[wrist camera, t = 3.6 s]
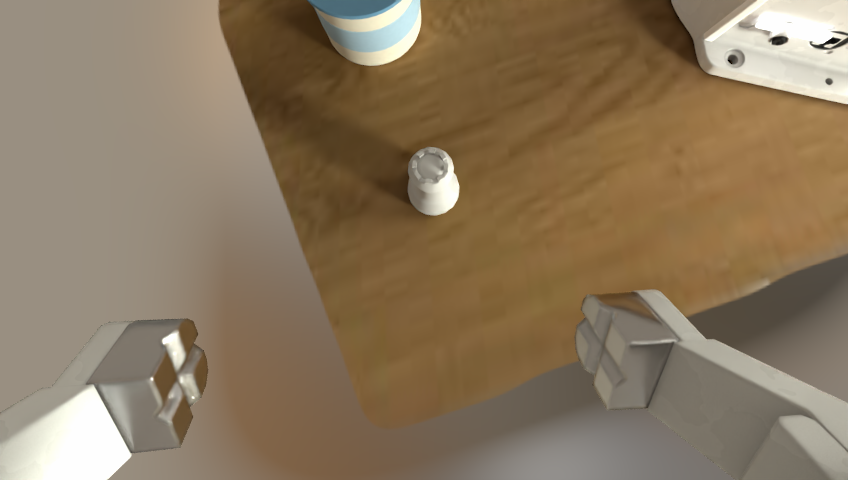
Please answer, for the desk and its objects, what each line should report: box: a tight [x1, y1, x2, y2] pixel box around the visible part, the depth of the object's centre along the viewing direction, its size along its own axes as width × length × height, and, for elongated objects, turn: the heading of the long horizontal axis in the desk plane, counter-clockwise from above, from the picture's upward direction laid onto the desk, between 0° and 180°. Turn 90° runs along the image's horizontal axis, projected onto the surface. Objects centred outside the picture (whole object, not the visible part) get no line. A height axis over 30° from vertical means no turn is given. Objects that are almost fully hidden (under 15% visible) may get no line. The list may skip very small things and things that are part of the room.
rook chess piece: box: [408, 147, 459, 215], centre depth 34 cm, size 4×4×8 cm
